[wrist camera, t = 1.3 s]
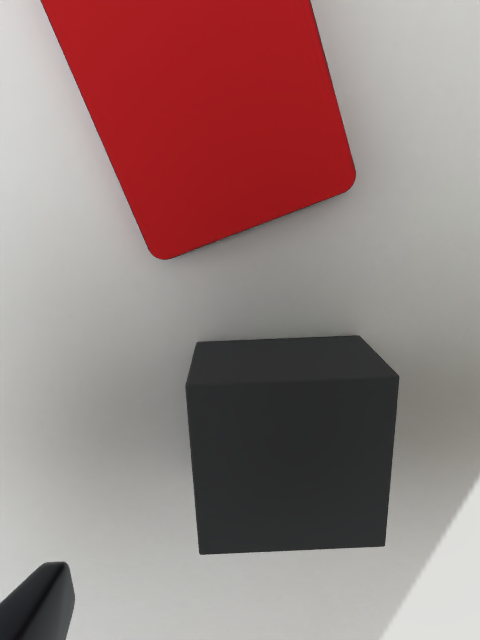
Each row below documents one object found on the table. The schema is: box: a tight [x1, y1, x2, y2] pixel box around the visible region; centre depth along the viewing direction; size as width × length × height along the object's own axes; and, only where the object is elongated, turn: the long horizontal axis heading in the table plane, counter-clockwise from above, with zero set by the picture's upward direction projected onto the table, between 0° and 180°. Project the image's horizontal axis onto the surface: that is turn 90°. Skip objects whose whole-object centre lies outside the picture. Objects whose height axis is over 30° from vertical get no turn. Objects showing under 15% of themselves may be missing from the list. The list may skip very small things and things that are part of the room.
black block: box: [185, 336, 399, 555], centre depth 11 cm, size 5×5×3 cm
